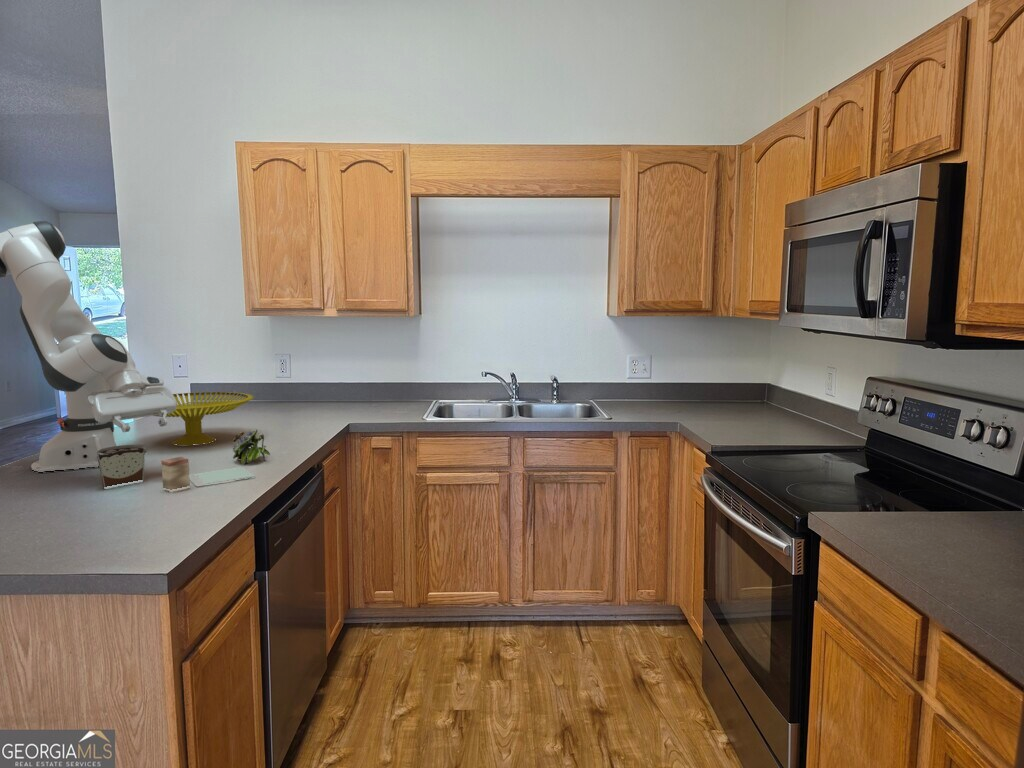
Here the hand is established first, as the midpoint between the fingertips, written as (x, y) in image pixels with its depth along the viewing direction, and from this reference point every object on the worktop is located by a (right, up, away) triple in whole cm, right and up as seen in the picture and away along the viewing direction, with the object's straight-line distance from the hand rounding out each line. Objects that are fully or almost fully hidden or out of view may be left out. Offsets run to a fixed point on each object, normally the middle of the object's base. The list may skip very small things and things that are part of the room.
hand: (145, 427), depth 173 cm
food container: (-7, -15, +1) cm, 17 cm away
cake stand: (-13, -9, +53) cm, 55 cm away
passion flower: (+18, -12, +26) cm, 34 cm away
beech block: (+11, -16, -4) cm, 20 cm away
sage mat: (+17, -14, +7) cm, 23 cm away
